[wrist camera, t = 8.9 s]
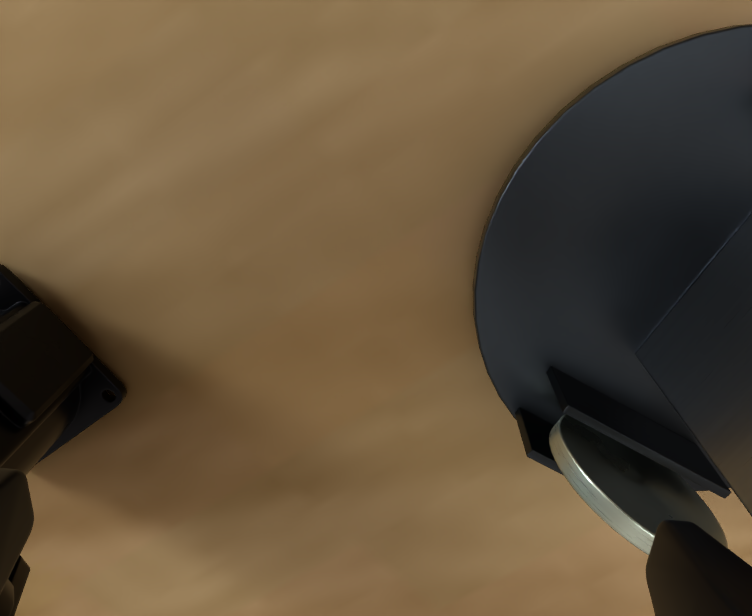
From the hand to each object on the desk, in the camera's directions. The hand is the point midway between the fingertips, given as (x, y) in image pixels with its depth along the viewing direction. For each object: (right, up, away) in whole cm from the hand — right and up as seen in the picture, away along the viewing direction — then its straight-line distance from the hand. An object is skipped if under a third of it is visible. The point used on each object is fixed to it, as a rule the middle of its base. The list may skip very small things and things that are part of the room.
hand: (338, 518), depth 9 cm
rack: (+11, +4, +12) cm, 17 cm away
